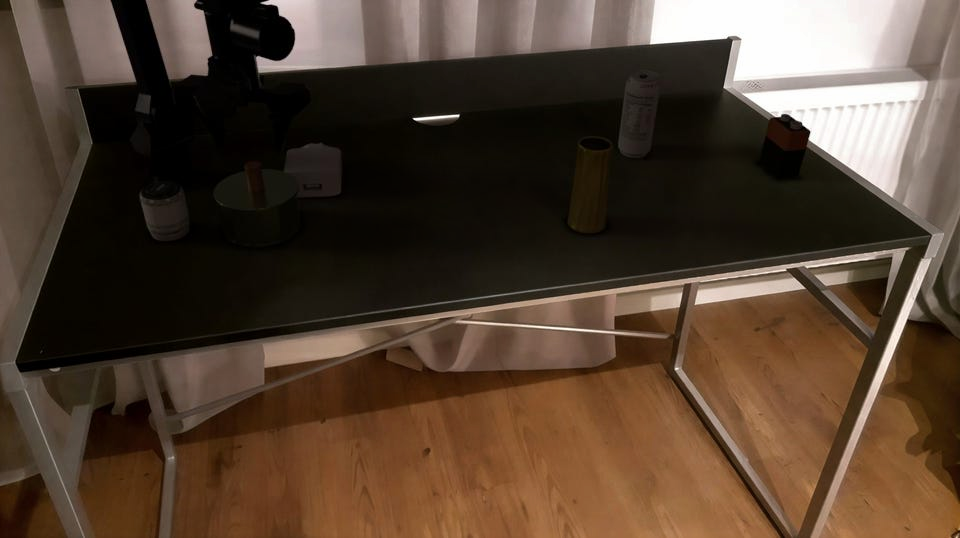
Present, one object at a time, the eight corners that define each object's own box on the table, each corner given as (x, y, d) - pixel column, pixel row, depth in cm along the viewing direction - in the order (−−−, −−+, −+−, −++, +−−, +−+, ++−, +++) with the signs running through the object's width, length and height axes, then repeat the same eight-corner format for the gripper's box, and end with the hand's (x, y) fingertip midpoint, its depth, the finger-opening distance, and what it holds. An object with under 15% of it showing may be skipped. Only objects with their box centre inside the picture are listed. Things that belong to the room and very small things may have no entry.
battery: (777, 180, 141) (791, 128, 135) (757, 162, 146) (769, 112, 140) (799, 177, 142) (813, 126, 136) (778, 160, 147) (791, 110, 141)
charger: (343, 155, 146) (341, 195, 133) (291, 156, 145) (285, 198, 132) (341, 131, 143) (339, 170, 131) (288, 133, 142) (281, 172, 130)
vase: (580, 237, 124) (589, 155, 116) (559, 219, 129) (567, 138, 120) (613, 228, 127) (624, 147, 118) (591, 210, 131) (600, 131, 123)
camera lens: (141, 240, 121) (129, 195, 117) (161, 219, 126) (150, 175, 122) (180, 244, 120) (169, 199, 116) (199, 223, 126) (189, 179, 121)
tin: (210, 241, 121) (202, 204, 118) (246, 204, 131) (240, 168, 127) (280, 252, 119) (274, 215, 115) (312, 214, 128) (308, 178, 125)
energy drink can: (654, 150, 150) (667, 73, 141) (642, 162, 146) (653, 84, 137) (625, 141, 152) (635, 66, 144) (612, 153, 148) (621, 76, 139)
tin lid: (198, 209, 118) (191, 178, 115) (239, 170, 128) (234, 141, 125) (276, 221, 115) (272, 190, 112) (312, 181, 125) (309, 151, 122)
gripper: (137, 60, 104) (164, 168, 113) (269, 70, 100) (287, 181, 109) (182, 34, 113) (204, 135, 122) (305, 42, 109) (318, 147, 118)
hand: (251, 149), depth 117 cm, fingers open, 9 cm apart
